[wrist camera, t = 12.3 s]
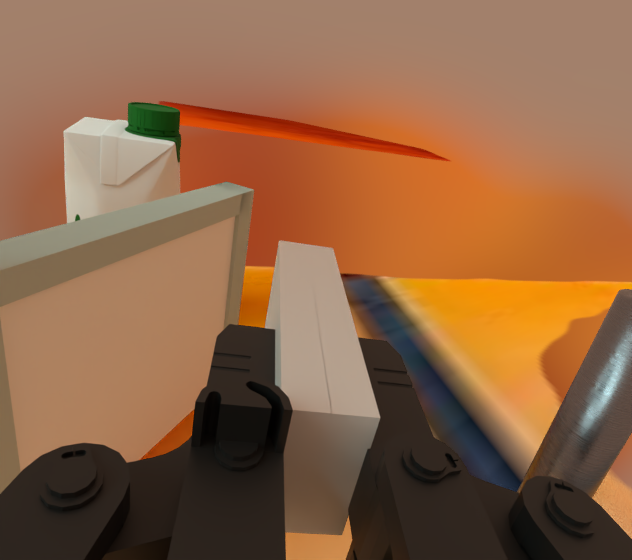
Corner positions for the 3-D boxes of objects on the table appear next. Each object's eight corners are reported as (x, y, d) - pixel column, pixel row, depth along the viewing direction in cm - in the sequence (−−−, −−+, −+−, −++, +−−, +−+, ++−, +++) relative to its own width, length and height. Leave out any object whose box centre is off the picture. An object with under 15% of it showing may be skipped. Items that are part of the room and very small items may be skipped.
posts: (-104, 665, 19) (-282, 203, 11) (-66, 604, 21) (-189, 179, 13) (504, 666, 23) (717, 328, 15) (484, 614, 25) (661, 293, 17)
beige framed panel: (5, 591, 21) (-50, 286, 15) (-28, 568, 22) (-95, 265, 15) (231, 378, 38) (254, 189, 31) (209, 368, 39) (226, 181, 32)
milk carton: (172, 342, 43) (183, 119, 34) (63, 340, 40) (47, 99, 32) (176, 297, 50) (185, 105, 42) (85, 293, 48) (76, 88, 40)
